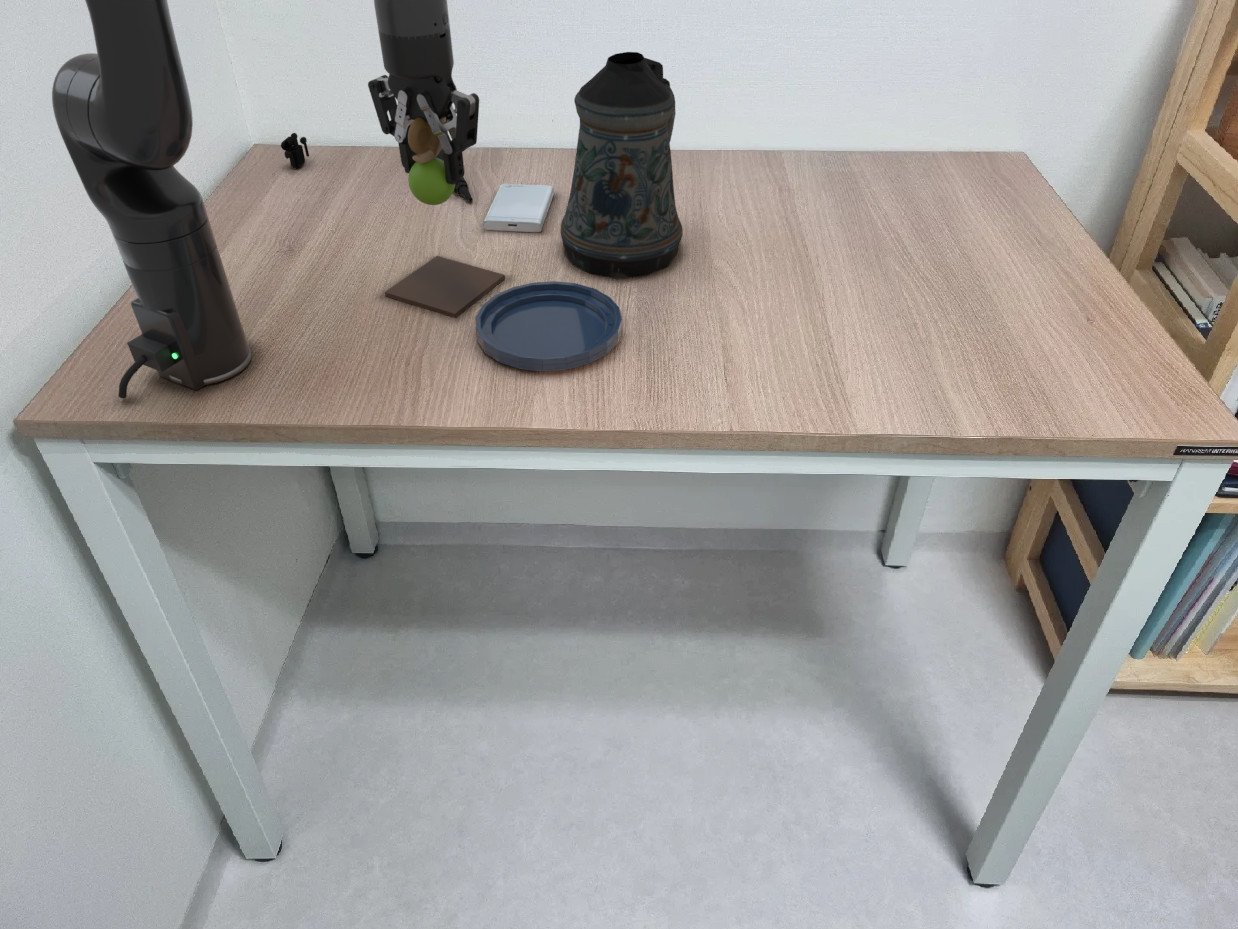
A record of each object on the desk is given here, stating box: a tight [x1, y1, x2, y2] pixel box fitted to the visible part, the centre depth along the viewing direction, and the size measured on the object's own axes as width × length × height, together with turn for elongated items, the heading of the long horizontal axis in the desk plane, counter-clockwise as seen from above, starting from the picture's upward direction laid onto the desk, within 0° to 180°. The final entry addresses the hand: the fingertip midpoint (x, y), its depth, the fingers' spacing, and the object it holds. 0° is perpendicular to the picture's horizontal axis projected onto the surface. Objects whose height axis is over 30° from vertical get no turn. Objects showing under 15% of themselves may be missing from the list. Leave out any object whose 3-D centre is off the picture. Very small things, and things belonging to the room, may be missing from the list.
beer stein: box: [559, 51, 683, 280], centre depth 119 cm, size 16×19×25 cm
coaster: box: [384, 255, 506, 318], centre depth 118 cm, size 11×11×1 cm
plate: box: [474, 280, 623, 372], centre depth 109 cm, size 17×17×2 cm
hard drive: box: [483, 183, 555, 233], centre depth 134 cm, size 2×8×12 cm
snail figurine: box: [407, 117, 455, 206], centre depth 106 cm, size 5×6×12 cm
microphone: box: [436, 148, 474, 203], centre depth 142 cm, size 6×6×20 cm
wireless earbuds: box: [280, 132, 310, 170], centre depth 146 cm, size 7×2×5 cm, turn 169°
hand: (434, 175), depth 108 cm, fingers closed on snail figurine, 5 cm apart
